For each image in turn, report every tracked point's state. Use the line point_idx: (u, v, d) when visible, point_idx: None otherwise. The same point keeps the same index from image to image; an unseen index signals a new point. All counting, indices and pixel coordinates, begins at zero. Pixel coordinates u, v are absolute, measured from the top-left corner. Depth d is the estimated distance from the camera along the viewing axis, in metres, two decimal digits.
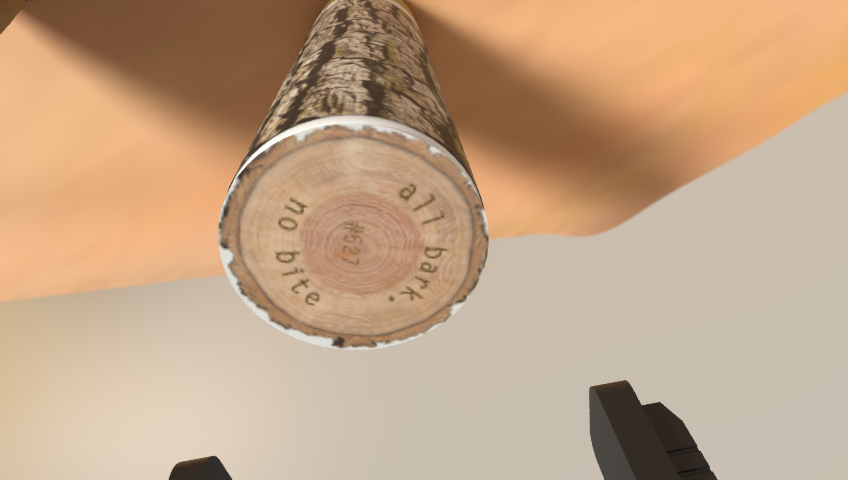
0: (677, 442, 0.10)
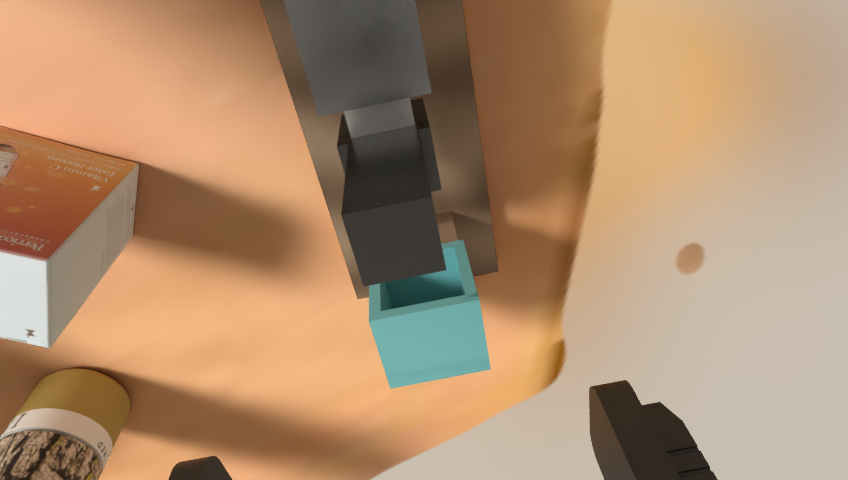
0: (677, 442, 0.10)
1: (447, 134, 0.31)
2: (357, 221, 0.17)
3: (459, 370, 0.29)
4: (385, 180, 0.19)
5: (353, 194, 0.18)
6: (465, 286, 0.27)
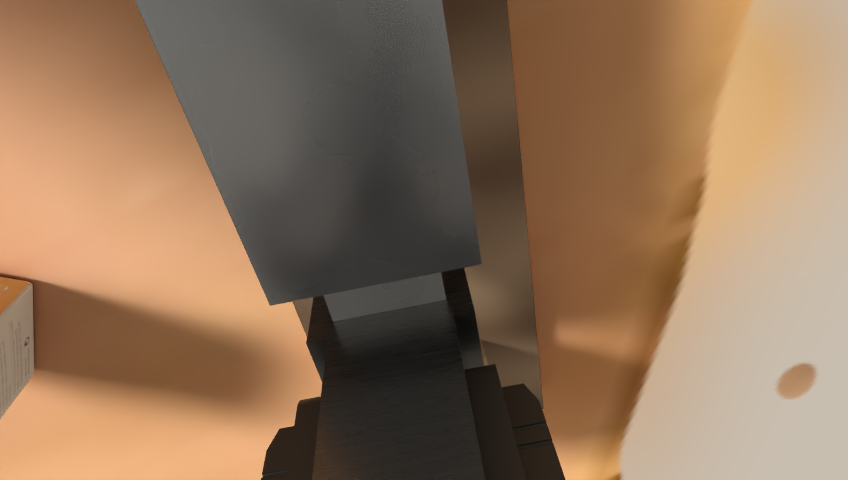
0: (529, 418, 0.11)
1: (481, 243, 0.21)
2: None
3: None
4: None
5: None
6: None
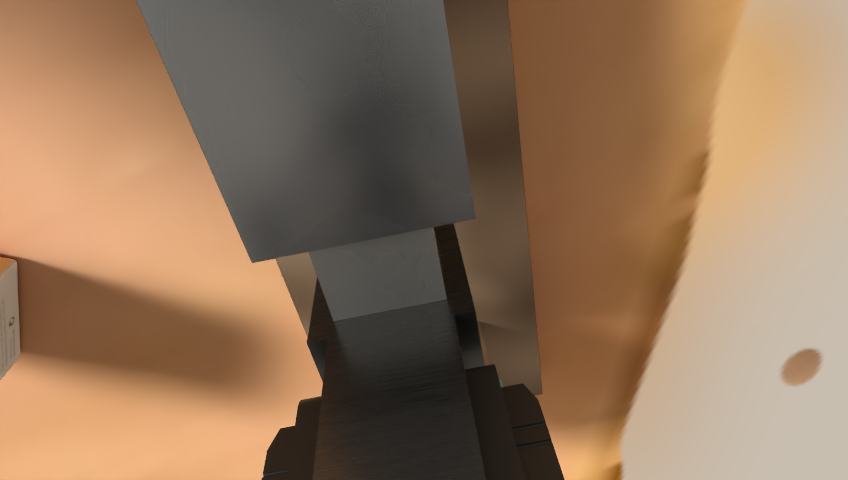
0: (529, 418, 0.11)
1: (478, 219, 0.21)
2: None
3: None
4: None
5: None
6: None
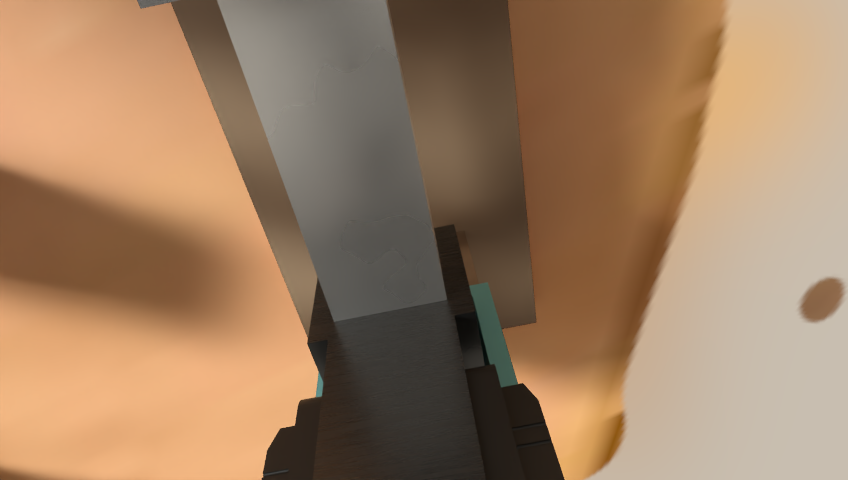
0: (529, 418, 0.11)
1: (460, 100, 0.18)
2: None
3: None
4: None
5: None
6: None
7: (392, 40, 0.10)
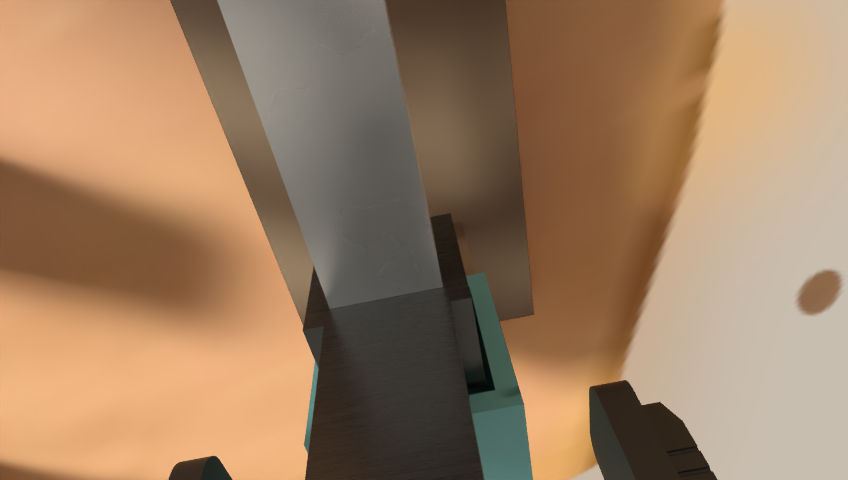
0: (677, 442, 0.10)
1: (457, 90, 0.18)
2: None
3: None
4: (392, 476, 0.09)
5: None
6: (494, 370, 0.14)
7: (387, 22, 0.09)
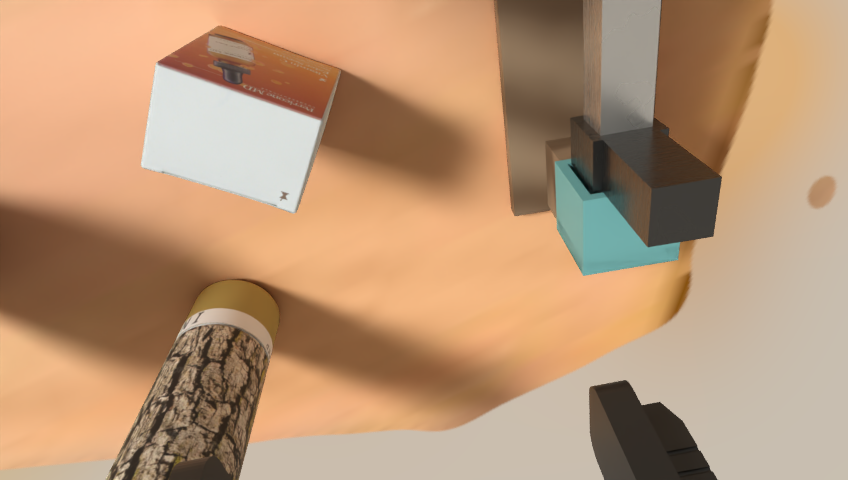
0: (677, 442, 0.10)
1: None
2: (661, 194, 0.23)
3: (649, 258, 0.31)
4: (667, 166, 0.24)
5: (647, 175, 0.24)
6: None
7: (660, 4, 0.25)
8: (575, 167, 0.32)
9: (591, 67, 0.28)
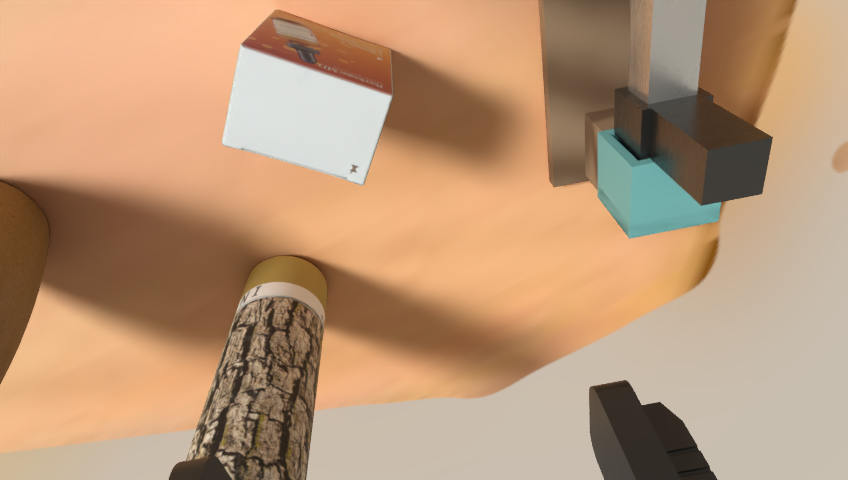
0: (677, 442, 0.10)
1: None
2: (716, 155, 0.25)
3: (692, 221, 0.33)
4: (718, 129, 0.26)
5: (701, 138, 0.26)
6: None
7: None
8: (619, 136, 0.34)
9: (639, 39, 0.30)
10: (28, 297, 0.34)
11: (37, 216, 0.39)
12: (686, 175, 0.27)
